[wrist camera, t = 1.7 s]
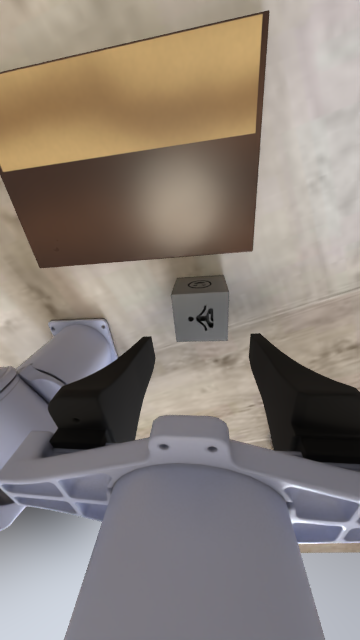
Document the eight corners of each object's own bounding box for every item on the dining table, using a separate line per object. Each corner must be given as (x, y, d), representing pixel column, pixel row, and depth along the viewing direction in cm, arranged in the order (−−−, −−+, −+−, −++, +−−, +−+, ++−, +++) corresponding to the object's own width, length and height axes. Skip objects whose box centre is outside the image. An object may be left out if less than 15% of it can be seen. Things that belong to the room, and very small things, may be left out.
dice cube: (223, 316, 24) (227, 340, 19) (181, 318, 24) (176, 341, 20) (223, 275, 21) (228, 291, 17) (177, 278, 22) (170, 294, 18)
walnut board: (249, 248, 20) (252, 251, 19) (48, 264, 23) (39, 268, 22) (263, 29, 13) (269, 9, 12) (-21, 91, 16) (-40, 80, 15)
